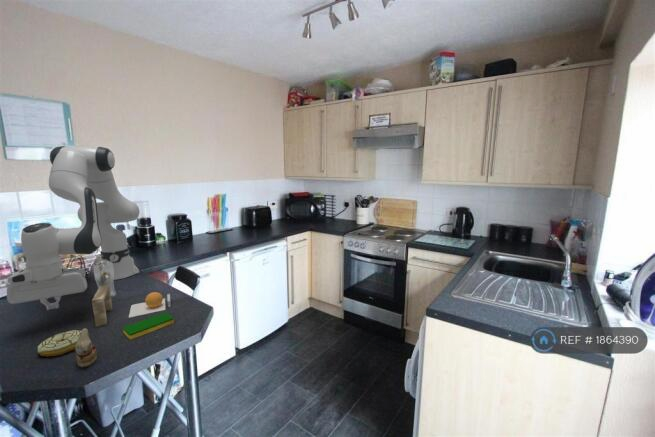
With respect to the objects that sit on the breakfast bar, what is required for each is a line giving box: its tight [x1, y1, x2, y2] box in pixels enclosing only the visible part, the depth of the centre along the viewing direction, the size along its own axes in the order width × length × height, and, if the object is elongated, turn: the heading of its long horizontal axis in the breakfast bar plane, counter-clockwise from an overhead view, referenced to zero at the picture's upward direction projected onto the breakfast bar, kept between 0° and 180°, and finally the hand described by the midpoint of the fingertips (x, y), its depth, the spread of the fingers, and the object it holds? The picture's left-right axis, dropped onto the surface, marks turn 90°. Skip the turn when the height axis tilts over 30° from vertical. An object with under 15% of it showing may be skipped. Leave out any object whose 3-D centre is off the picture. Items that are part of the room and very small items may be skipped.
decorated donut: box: [37, 329, 82, 357], centre depth 91 cm, size 10×11×4 cm
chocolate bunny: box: [74, 327, 98, 368], centre depth 84 cm, size 6×8×10 cm
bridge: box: [91, 285, 113, 327], centre depth 110 cm, size 3×15×10 cm, turn 29°
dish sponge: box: [122, 312, 175, 340], centre depth 102 cm, size 7×14×2 cm, turn 139°
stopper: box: [166, 293, 172, 308], centre depth 121 cm, size 8×1×2 cm, turn 29°
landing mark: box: [128, 298, 166, 319], centre depth 117 cm, size 12×12×1 cm
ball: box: [144, 291, 164, 308], centre depth 117 cm, size 6×6×6 cm
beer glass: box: [92, 261, 117, 298], centre depth 128 cm, size 7×7×15 cm
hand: (53, 308), depth 103 cm, fingers closed
